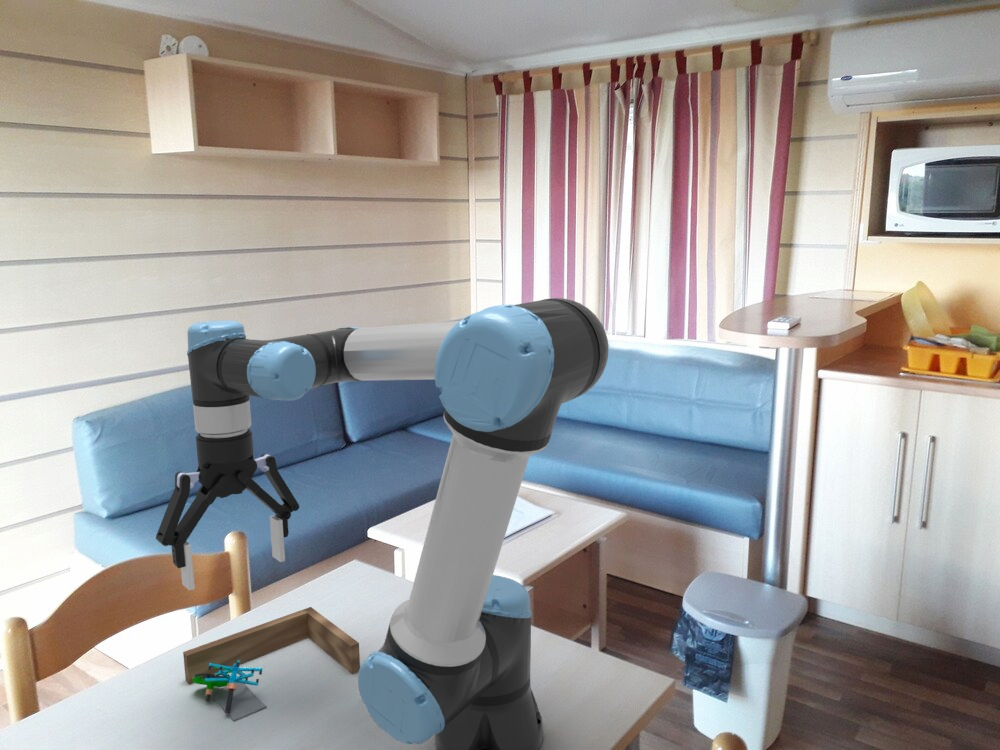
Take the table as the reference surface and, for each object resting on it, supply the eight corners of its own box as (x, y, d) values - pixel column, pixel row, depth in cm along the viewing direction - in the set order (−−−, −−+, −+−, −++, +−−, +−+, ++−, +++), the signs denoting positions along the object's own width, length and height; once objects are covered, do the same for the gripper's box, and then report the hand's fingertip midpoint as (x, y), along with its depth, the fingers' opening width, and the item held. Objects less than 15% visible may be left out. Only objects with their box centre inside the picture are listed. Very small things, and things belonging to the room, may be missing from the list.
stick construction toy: (274, 665, 119) (236, 651, 114) (267, 713, 115) (227, 701, 110) (216, 680, 124) (178, 667, 118) (208, 726, 120) (167, 715, 114)
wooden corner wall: (360, 671, 125) (358, 642, 124) (226, 729, 111) (224, 697, 110) (312, 633, 137) (310, 606, 136) (185, 681, 123) (183, 652, 122)
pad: (266, 707, 116) (266, 706, 116) (233, 721, 113) (233, 720, 113) (241, 681, 123) (241, 680, 123) (209, 694, 120) (209, 692, 119)
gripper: (292, 412, 121) (301, 541, 125) (121, 442, 104) (137, 590, 108) (316, 420, 115) (324, 555, 119) (139, 454, 99) (155, 609, 103)
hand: (235, 572), depth 114 cm, fingers open, 13 cm apart
